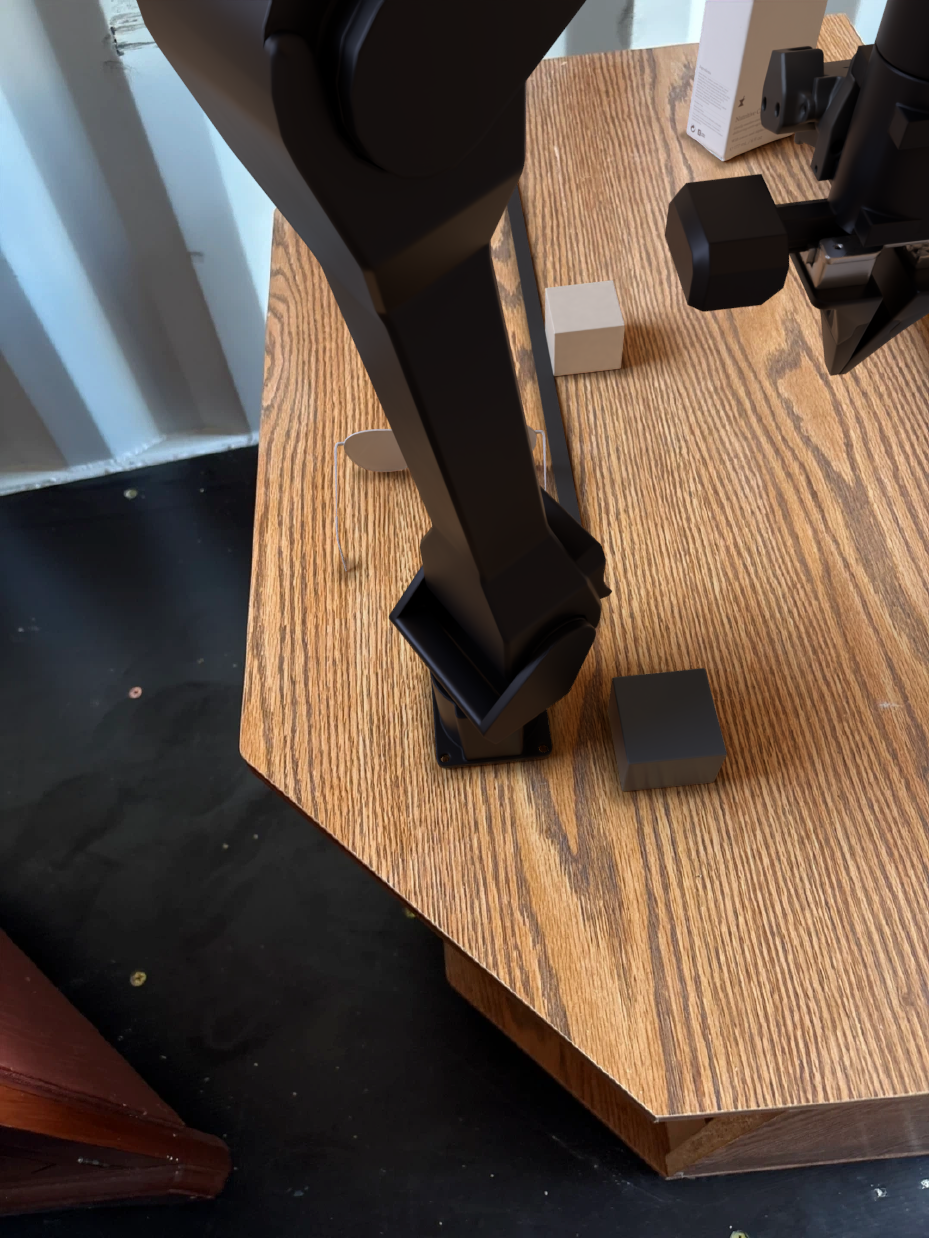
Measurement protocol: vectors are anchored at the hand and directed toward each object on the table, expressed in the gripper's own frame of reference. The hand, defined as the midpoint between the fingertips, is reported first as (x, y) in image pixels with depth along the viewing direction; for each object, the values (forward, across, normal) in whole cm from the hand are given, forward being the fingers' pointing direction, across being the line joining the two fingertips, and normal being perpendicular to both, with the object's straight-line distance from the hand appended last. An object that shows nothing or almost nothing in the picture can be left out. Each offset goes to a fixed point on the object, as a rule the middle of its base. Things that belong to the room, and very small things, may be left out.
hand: (834, 369), depth 45 cm
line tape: (+12, +13, -19) cm, 26 cm away
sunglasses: (+12, +22, -3) cm, 25 cm away
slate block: (+12, +11, +15) cm, 22 cm away
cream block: (+12, +10, -17) cm, 23 cm away
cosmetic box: (+12, -8, -43) cm, 45 cm away
